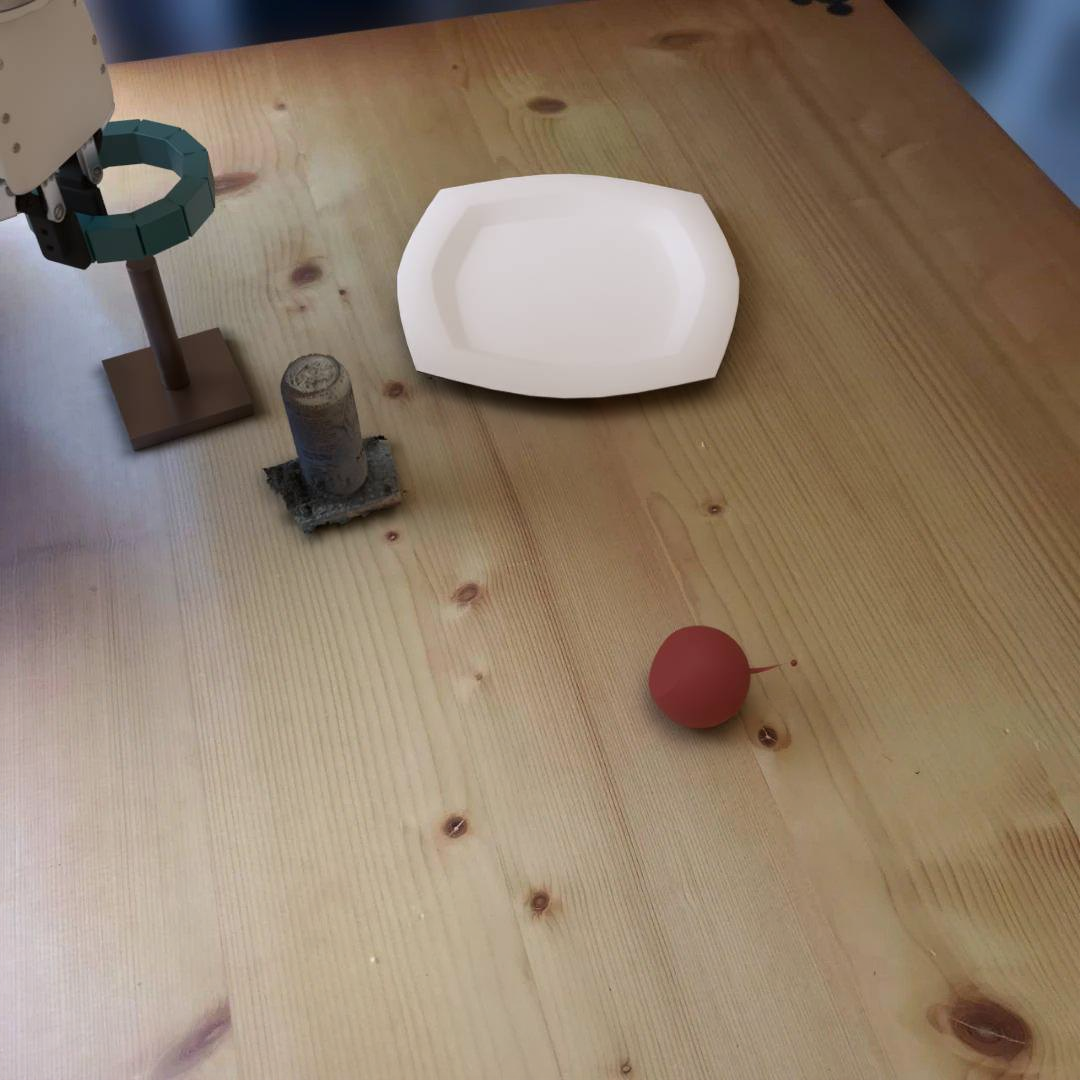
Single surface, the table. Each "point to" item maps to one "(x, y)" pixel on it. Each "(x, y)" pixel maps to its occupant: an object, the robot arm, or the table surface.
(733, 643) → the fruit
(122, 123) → the ring
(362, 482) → the can on ragged base
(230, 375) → the post
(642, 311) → the plate
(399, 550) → the table surface
